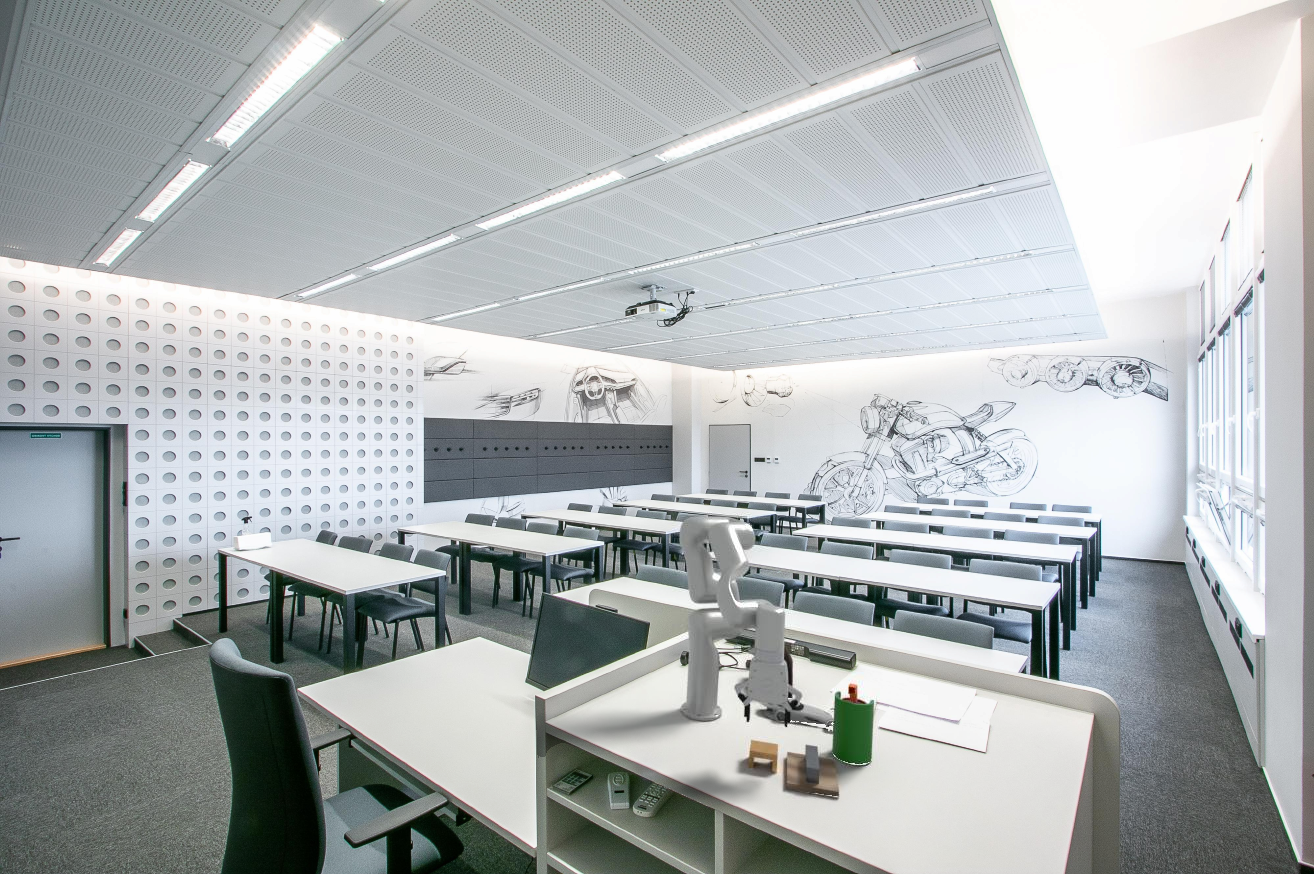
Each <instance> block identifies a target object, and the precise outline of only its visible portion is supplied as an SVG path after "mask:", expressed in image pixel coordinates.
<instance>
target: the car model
mask: <svg viewBox="0 0 1314 874" xmlns="http://www.w3.org/2000/svg"><path fill="white" fill-rule="evenodd" d="M793 699H794V698H792V699H788V700H789V701H790V702H791V701H792V700H793ZM760 703H761V705H762V706H764V707H766V709H767V710H768V711H764V715H765V716H766V717H767V718H769V717H770V718H769V719H771V718H772V719H771V720H774V719H775V720H774V721H776V720H778V721H777V722H779V721H784V722H783V723H785V706H784V705H783V704H773V703H765V702H760ZM830 710H834V707H832V708H830ZM830 714H831V713H830ZM830 714H829V713H828V711H825V710H823V709H820V708H817V707H814V706H811V705H808V704H804V703H802V702H800V701H799V703H798V705H797V706H796V707H795V708H793V709H792V711H791V715H790V721H791V720H792V721H795V722H796V721H799V722H797V723H801V722H807V723H816V724H825V725H826V727H829V726H833V725H832V724H831V723H832V722H833V723H834V719H833V718H832V716H833V715H830ZM797 723H796V724H797Z"/></svg>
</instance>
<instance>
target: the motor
mask: <svg viewBox="0 0 1314 874" xmlns="http://www.w3.org/2000/svg"><path fill="white" fill-rule="evenodd" d="M847 688H848V689H847V690H848V692H847V694H848V695H849V697H843V698H841V697H842V692H841V691H839V690H838V691H836V692H835V693H834V701H833V702H834V703H833V704H834V705H833V706H834V707H833V708H834V711H833V717H834V724H833V731H832V746H831V747H832V748H831V753H832V752H833V754H834V755H835V756H836V757H837V758H838V759H840V760H842V761H845V762H848V763H855V764H863V763H868V762H870V761H871V759H873V737H874V735H873V734H874V715H875V713H874V712H875V700H874V699H871V700H869V702H868V703H867V702H866V701H865V700H862V699H861V698H858V684H854V683H849V684H848V686H847ZM833 754H832V755H833ZM838 759H837V760H838ZM871 762H872V761H871Z"/></svg>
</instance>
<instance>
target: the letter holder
mask: <svg viewBox="0 0 1314 874" xmlns="http://www.w3.org/2000/svg"><path fill="white" fill-rule="evenodd" d="M784 660H785V661H786V663H787V670H788V684H789V685H790V686H792V687H793V686H794V671H793V669H794V668H793V667H794V661H793V658H792V655H791V654H790V651H789V650H788V648H787V646H786V645H784ZM788 698H792V699H794V698H793V694H792V693H790V692H789V691H788Z"/></svg>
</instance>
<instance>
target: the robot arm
mask: <svg viewBox="0 0 1314 874" xmlns="http://www.w3.org/2000/svg"><path fill="white" fill-rule="evenodd" d="M679 543H680V546H681V550H682V552H683V555H684V558H685V559H684V560H685V565H686V576H687V577H686V578H687V585H688V592H689V593H688V594H689V597H690V600H691V601H692V602H693V603H694V604H698V605H699V604H700V605H701V604H702V605H707V604H711V605H712V604H717V606H718V607H705V608H698V609H694V610H692V611H691V612H690V613H689V615H688V617H687V622H686V623H687V632H688V633H687V634H688V635H687V636H688V662H687V663H688V667H687V682H686V685H687V686H686V702H684V703H682V704H681V706H680V712H681V713H682V714H683V715H684V716H685V717H687V718H689V719H691V720H696V721H705V722H706V721H707V722H708V721H709V722H710V721H715V720H718V719H719V718H721V717H722V715H723V710H722V708H721V707H720V705H718V697H719V696H718V695H719V679H720V678H719V676H720V675H719V674H720V652H719V650H718V648H717V646H716V645H715V643H714V641H719V640H728V639H735V638H737V637H739V636H740V635H741V633H742V630H748V629H750V630H751V629H754V631H755V632H754V647H752V648H749V649H748V654H749V655H750V654H751V655H753V657H752V658H751V661H750V664H749V672H748V678H747V679H746V680H743V681H741V682H739V683H736V684H735V685H734V687H733V688H734V691H735V692H736V695H737V698H738V699H739V700H740V702H741V703H742V704H743V706H744V707H743V710H744V711H743V717H744V718H746V723H749V722H750V720H751V703H752V701H754V702H758V703H759V702H760V703H761V702H765V703H773V704H783V705H784V706H785V722H784V727H785V728H788V724H791V723H790V715H791V711H792V709H793V708H795V707H796V706H797V705H798V703H799V702H800V701H801V699H802V698H803V693H802V692H801V691H800V690H799V689H796V688H795V687H792V686H790V685H789V684H788V670H787V663H786V661H785V660H784V646H785V637H786V636H785V634H786V633H785V632H786V612H785V610H784V609H783V608H782V607H781V606H777V605H774V604H773V603H771V602H770V601H768V600H766V599H762V598H761V599H759V598H758V599H742V600H741V599H740V593H739V592H740V590H739V586H738V582H737V580H738V579H740V578H742V577H743V576H744V575H746V574H747V572H748V571H749V569H750V562H749V560H748V557H747V556H746V552H745V551H748V550H751V549H752V548H753V547H754V546H755V543H756V534H755V530H754V529H753V527H752V526H751V525H750V524H749V523H747V522H745V521H742V520H739V519H736V518H732V517H730V516H708V515H706V516H703V515H700V516H691V517H688V518H686V519H685V520H684V521H683V522H682V523H681V525H680V529H679ZM703 544H710V547H711V549H712V552H713V554H714V557H715V559H716V563H717V565H718V567H719V570H720V572H715V570H714V564H713V563H714V562H713V557H712V556H711V554H710V552H709V551H708V549H707V548H706V547H705V546H704V545H703ZM745 688H747V695H745V694H744V693H743V692H742V689H745ZM788 691H789V692H790V693H792V694H793V695H794V698H792V699H793V700H792V701H791V702H790V701H789V700H788Z"/></svg>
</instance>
